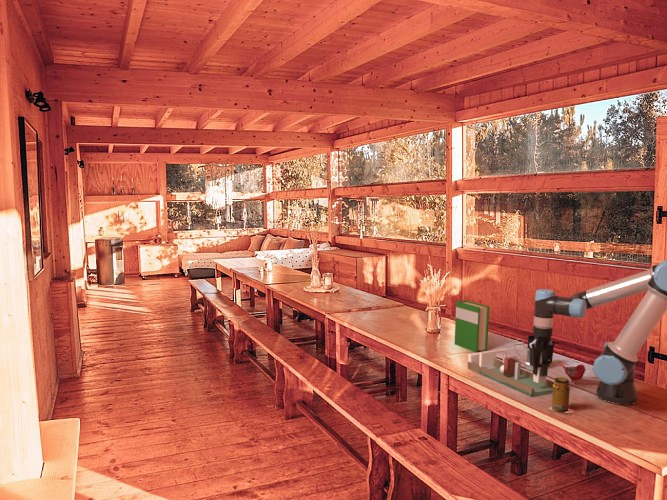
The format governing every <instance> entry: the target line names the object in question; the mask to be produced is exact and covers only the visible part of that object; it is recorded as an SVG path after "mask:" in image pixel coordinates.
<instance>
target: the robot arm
mask: <svg viewBox="0 0 667 500" xmlns="http://www.w3.org/2000/svg"><path fill="white" fill-rule="evenodd" d="M642 293H645V294H644V296H643V297H642V299H641V301H640V302H639V303H638V305H637V307H636V308H635V310H634V311H633V312H632V314H631V315H630V317H629V318H628V320H627V322H626V323H625V325H624V326H623V328H622V329H621V331H620V332H619V334H618V336H616V338H615V340H614V341H606V342H605V343H604V346H603V350H602V352H601V353H600V355H599V356H598V357H596V358H595V360H594V362H593V366H592V367H593V369H592V370H593V373H594V375H595V377H596V378H597V379H598V381H599V384H598V385H597V388H596V393H595V396H596V395H597V396H598V397H599V398H601V399H603V400H606V401H610V402H614V403H620V404H633V403H636V402H637V403H638V399H639V396H638V393H637V389H636V386H635V371H636V364H637V362H638V361H639V359H638V355H637V354H638V353H639V351H640V350H641V348H642V347H643V346H644V344H645V343H646V341H647V340H648V338H649V337H650V336H651V334H652V332H653V330H654V329H655V328H656V327H657V325H658V324H659V322H660V321H661V319H662V318H663V317H664V315H665V314H666V312H667V259H665V260H662V261H661V262H660V263H657V264H654V265H652V266H651V267H650V268H649V269H648V270H643V271H640V272H638V273H635V274H632V275H629V276H626V277H623V278H619V279H616V280H613V281H611V282H608V283H604V284H601V285H599V286H595V287H592V288H589V289H587V290H583V291H581V292H576V293H573V294H572V295H569V296H558V295H556V292H555V291H554V290H552V289H546V288H540V289H537V290H536V291H535V297H534V314H533V327H532V329H533V330H532V334H533V335H532V336H534V340H533V342H532V343H528V342H527V346H528V345H529V364H530V365H531V366H533V371H532V373H533V374H534V375H533V381H534V382H537V383H539V382H540V380H541V381H544V382H546V379H547V376H543V377H541V376H540V367H539V363H540V358H541V352H542V362H543V363H546V364H548V367H551V364H552V363H553V357H554V349H555V348H554V347H555V345H556V341H555V340H552V337H553V327H554V315H555V316H556V315H559V316H565V317H571V318H575V319H576V318H578V319H579V318H580V319H582V318H584V317H585V316H586V313H587V310H589V309H592V308H596V307H599V306H603V305H605V304H606V305H607V304H609V303H612V302H615V301H620V300H622V299H626V298H629V297H632V296H635V295H638V294H639V295H640V294H642ZM597 396H596V397H597ZM598 397H597V398H598ZM599 398H598V399H599ZM601 399H600V400H601ZM603 400H602V401H603ZM606 401H605V402H606ZM614 403H613V404H614ZM637 403H636V404H637ZM633 405H634V404H633Z"/></svg>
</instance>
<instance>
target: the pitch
mask: <svg viewBox="0 0 667 500" xmlns="http://www.w3.org/2000/svg"><path fill="white" fill-rule="evenodd" d="M500 353H502V360H500V359H498V358H497V354H500ZM506 357H508V349H506V348H503V349H497V350H495V349H494V350H489V351H488V350H487V351H482V352H481V351H480V352H477V353H476V352H474V353H468V354H467V369H468V370H470V371H472V372H475V373H476V374H479V375H480V376H481V375H482V376H484V377H486V378H488V379H491V380H492V381H495V382H497V383H499V384H500V385H501V384H502V385H503V386H506V387H508V388H509V389H512V390H515V391H517V392H519V393H522V394H524V395H526V396H528V397H531V398H533V397H538V396H543V395H544V396H545V395H550V394H553V385H554V380H553V381H552V380H550V379H548V378H546V382H544V381H541V380H540V382H539V383H537V382H534V381H533V375H534V374H533V372H530V371H528V370H524V369H523V368H521V366H522V365H521V363H519V362H516V363H515V375H513V376H504V374H503V373H501V371H500V367H501V366H502V365H504V358H506ZM490 367H491V368H490ZM493 367H494V368H493Z"/></svg>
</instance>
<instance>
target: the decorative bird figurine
mask: <svg viewBox="0 0 667 500" xmlns="http://www.w3.org/2000/svg"><path fill="white" fill-rule="evenodd" d="M558 364H559V365H560V366H561V367H562V369H563V371H564V372H565V374H566V375H567V376H568V378H569V379H570V382H571V383H573V384H574V385H577V386H578V385H579V384H578V383H577V382H576V381H579V380H582V379H583V376H584V374H585V372H587V370H586V367H585V365H584V364H578V365H577V366H565V365H563V364H562V363H561V362H558Z"/></svg>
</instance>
